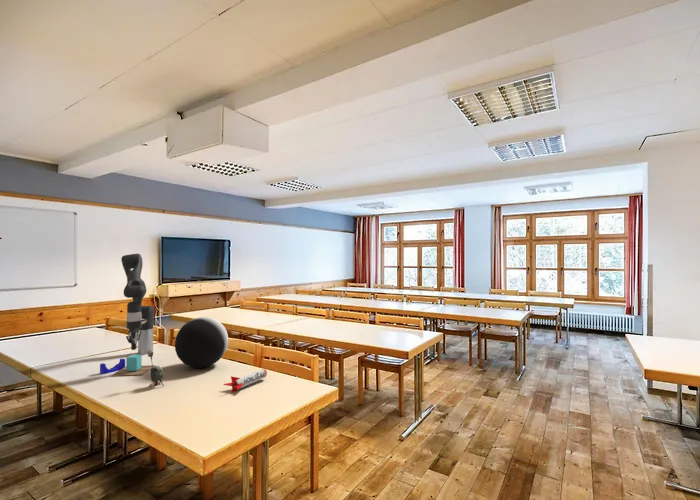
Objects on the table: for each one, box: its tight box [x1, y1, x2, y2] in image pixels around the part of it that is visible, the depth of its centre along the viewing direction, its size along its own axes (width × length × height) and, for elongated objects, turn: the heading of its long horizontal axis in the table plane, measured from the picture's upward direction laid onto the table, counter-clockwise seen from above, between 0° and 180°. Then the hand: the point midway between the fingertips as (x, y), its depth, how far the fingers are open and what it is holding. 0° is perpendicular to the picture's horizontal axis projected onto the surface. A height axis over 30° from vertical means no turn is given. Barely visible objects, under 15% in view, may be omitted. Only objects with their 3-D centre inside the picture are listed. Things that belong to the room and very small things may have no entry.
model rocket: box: [223, 368, 268, 393], centre depth 177 cm, size 11×23×10 cm, turn 149°
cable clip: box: [99, 357, 126, 375], centre depth 202 cm, size 12×4×6 cm, turn 150°
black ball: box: [174, 316, 229, 369], centre depth 211 cm, size 30×30×30 cm
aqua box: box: [125, 354, 143, 371], centre depth 200 cm, size 6×6×8 cm
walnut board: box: [110, 364, 156, 378], centre depth 200 cm, size 16×16×1 cm
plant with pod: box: [146, 350, 165, 387], centre depth 177 cm, size 8×11×20 cm
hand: (133, 349), depth 200 cm, fingers closed
